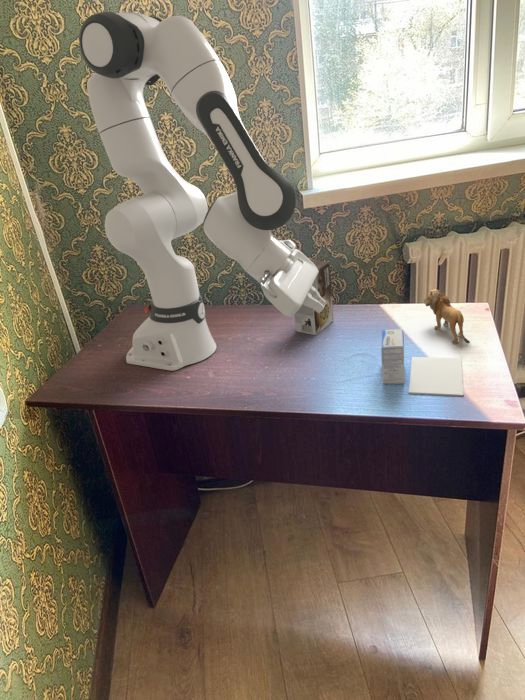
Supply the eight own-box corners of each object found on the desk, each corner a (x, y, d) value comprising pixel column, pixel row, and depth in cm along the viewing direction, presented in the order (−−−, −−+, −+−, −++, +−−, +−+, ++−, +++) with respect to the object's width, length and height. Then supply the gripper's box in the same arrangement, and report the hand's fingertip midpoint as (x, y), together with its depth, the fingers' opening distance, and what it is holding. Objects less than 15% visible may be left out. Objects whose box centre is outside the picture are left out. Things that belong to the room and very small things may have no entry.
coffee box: (313, 316, 141) (308, 258, 134) (334, 320, 138) (330, 261, 130) (294, 331, 135) (287, 271, 128) (316, 336, 132) (311, 274, 124)
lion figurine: (419, 324, 130) (420, 289, 126) (438, 318, 132) (439, 284, 127) (459, 348, 118) (461, 311, 114) (479, 341, 119) (482, 304, 115)
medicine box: (404, 384, 108) (404, 346, 104) (382, 384, 109) (381, 347, 105) (403, 364, 115) (403, 328, 111) (382, 364, 116) (381, 329, 112)
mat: (408, 393, 105) (408, 392, 105) (412, 358, 117) (412, 356, 116) (463, 396, 102) (463, 394, 102) (460, 359, 114) (461, 358, 113)
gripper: (266, 271, 97) (324, 320, 99) (292, 237, 114) (340, 279, 116) (246, 294, 100) (302, 341, 102) (274, 258, 118) (322, 298, 119)
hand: (323, 308), depth 109 cm, fingers closed
